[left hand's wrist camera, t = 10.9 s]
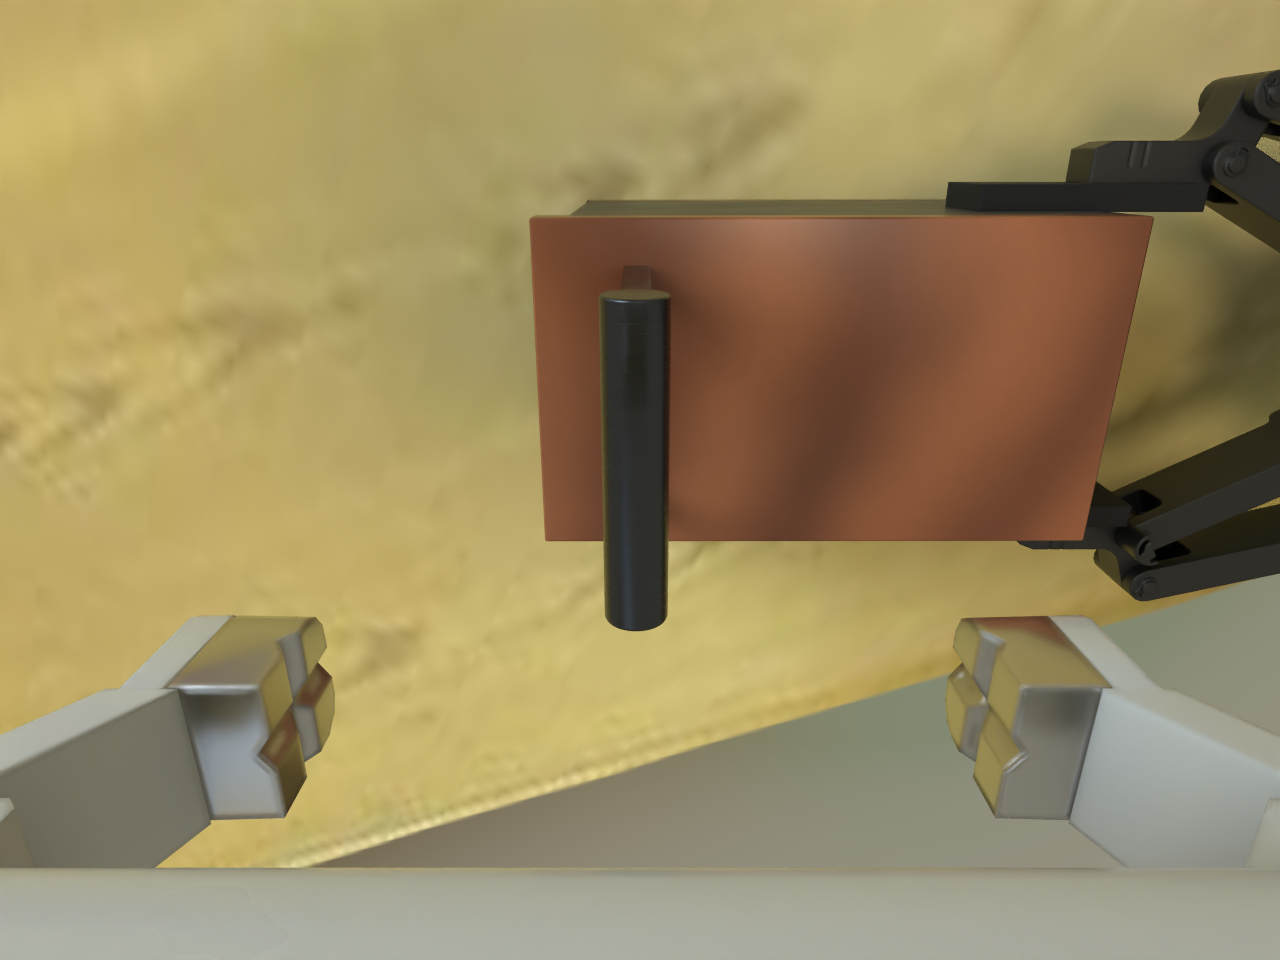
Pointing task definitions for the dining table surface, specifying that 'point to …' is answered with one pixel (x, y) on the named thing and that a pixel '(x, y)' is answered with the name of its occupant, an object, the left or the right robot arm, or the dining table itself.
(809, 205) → the chest
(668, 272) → the lid
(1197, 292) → the dining table surface
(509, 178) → the dining table surface
